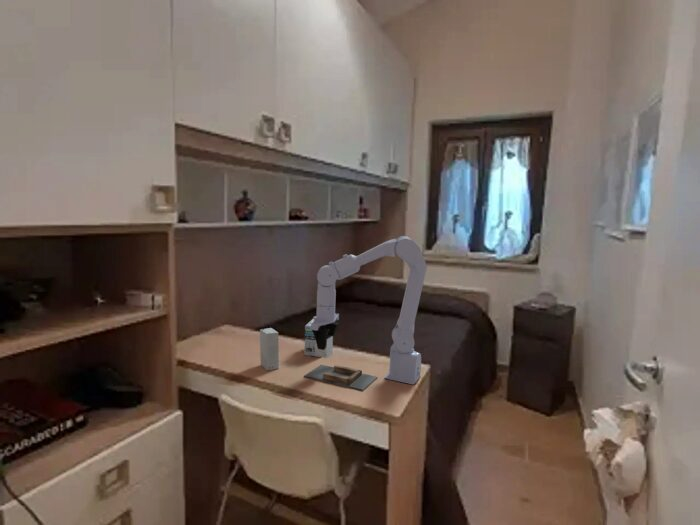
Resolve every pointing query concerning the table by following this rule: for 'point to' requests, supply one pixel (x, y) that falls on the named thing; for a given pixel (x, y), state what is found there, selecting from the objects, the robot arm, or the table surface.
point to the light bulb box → (309, 340)
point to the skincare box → (269, 349)
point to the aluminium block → (327, 350)
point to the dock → (342, 376)
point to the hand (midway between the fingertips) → (324, 347)
